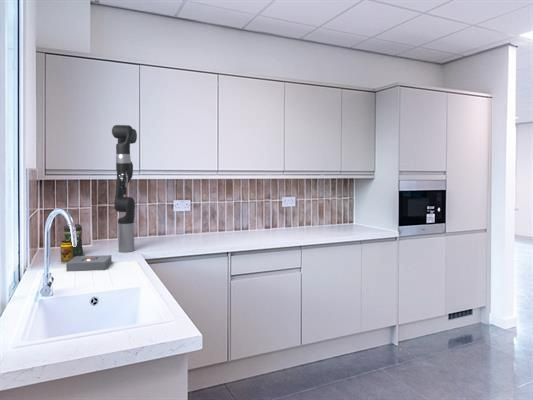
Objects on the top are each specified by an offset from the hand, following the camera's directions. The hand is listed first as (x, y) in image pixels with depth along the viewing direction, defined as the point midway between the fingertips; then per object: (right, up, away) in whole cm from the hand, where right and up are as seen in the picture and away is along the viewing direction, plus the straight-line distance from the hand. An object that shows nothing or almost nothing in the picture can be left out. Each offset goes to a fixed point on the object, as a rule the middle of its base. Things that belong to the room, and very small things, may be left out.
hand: (124, 194), depth 216 cm
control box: (-13, -37, -11) cm, 41 cm away
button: (-14, -37, -11) cm, 41 cm away
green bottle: (-33, -36, +11) cm, 50 cm away
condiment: (-31, -37, 0) cm, 48 cm away
